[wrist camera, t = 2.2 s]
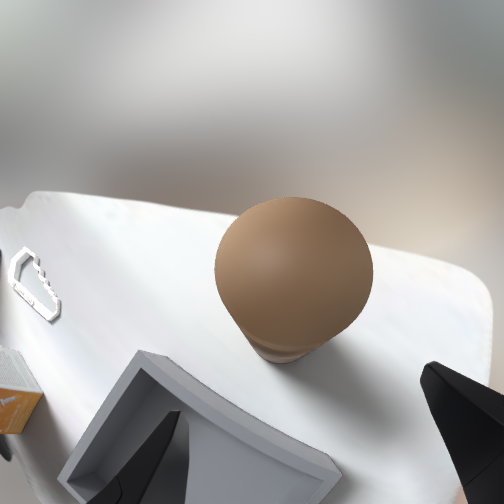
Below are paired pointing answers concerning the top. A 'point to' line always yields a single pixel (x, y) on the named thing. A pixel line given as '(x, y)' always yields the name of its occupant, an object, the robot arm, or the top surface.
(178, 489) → the robot arm
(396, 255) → the top surface
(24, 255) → the saw cookie cutter
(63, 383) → the top surface
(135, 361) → the grey tote
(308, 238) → the brown cylinder
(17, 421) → the small box
